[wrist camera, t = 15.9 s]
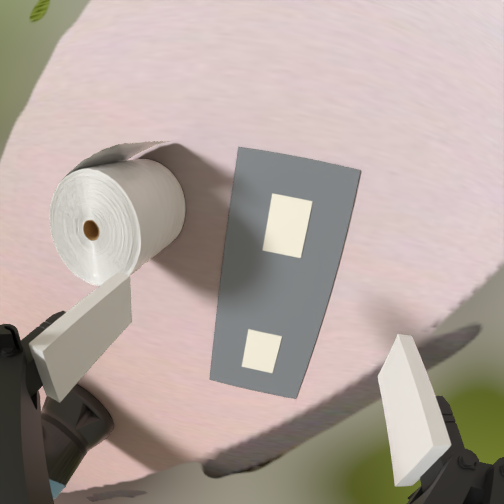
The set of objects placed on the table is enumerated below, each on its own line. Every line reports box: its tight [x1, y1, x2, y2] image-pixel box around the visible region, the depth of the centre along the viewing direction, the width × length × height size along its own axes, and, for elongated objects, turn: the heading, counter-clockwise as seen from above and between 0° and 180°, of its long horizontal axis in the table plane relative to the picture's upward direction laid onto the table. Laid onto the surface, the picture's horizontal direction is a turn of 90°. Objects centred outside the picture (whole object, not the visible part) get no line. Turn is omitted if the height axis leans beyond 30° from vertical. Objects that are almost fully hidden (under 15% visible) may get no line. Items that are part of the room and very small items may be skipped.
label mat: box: [210, 147, 361, 399], centre depth 34 cm, size 30×12×1 cm, turn 171°
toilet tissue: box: [50, 141, 186, 286], centre depth 29 cm, size 11×12×10 cm
